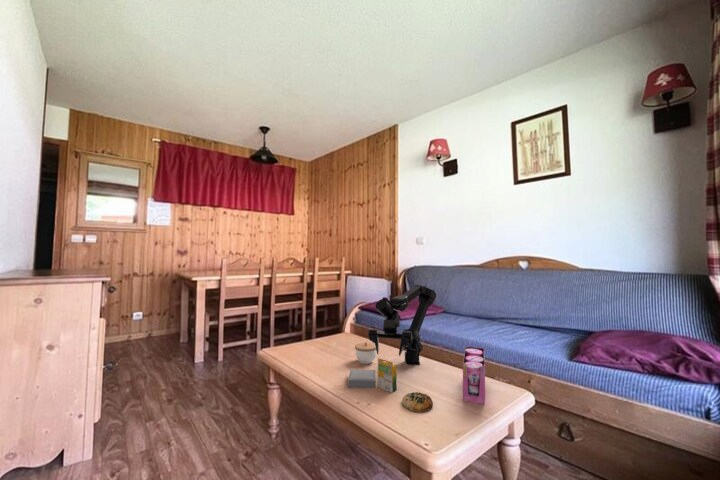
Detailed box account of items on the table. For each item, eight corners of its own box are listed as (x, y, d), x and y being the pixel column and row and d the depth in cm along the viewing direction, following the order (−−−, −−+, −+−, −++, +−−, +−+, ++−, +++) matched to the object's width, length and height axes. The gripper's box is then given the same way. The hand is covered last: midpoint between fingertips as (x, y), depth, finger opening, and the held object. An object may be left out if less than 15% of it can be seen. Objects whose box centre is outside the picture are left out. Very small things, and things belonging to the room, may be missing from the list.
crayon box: (396, 390, 120) (396, 360, 121) (392, 393, 118) (392, 362, 119) (382, 385, 125) (382, 356, 126) (377, 387, 123) (377, 358, 123)
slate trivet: (375, 376, 133) (375, 369, 133) (375, 388, 122) (375, 380, 122) (350, 376, 134) (350, 369, 134) (348, 387, 123) (348, 379, 123)
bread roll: (437, 401, 111) (436, 388, 111) (427, 420, 102) (426, 405, 101) (408, 395, 117) (407, 383, 117) (396, 412, 107) (395, 399, 107)
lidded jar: (377, 365, 146) (377, 345, 147) (354, 365, 147) (354, 345, 147) (376, 358, 157) (376, 339, 158) (355, 357, 157) (355, 339, 158)
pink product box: (485, 406, 108) (485, 367, 109) (461, 402, 111) (461, 364, 112) (485, 380, 130) (484, 348, 131) (465, 377, 133) (465, 345, 134)
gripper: (369, 310, 136) (363, 343, 124) (411, 312, 132) (410, 346, 120) (372, 324, 143) (367, 356, 132) (412, 327, 139) (411, 360, 128)
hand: (388, 354), depth 128 cm, fingers open, 9 cm apart
